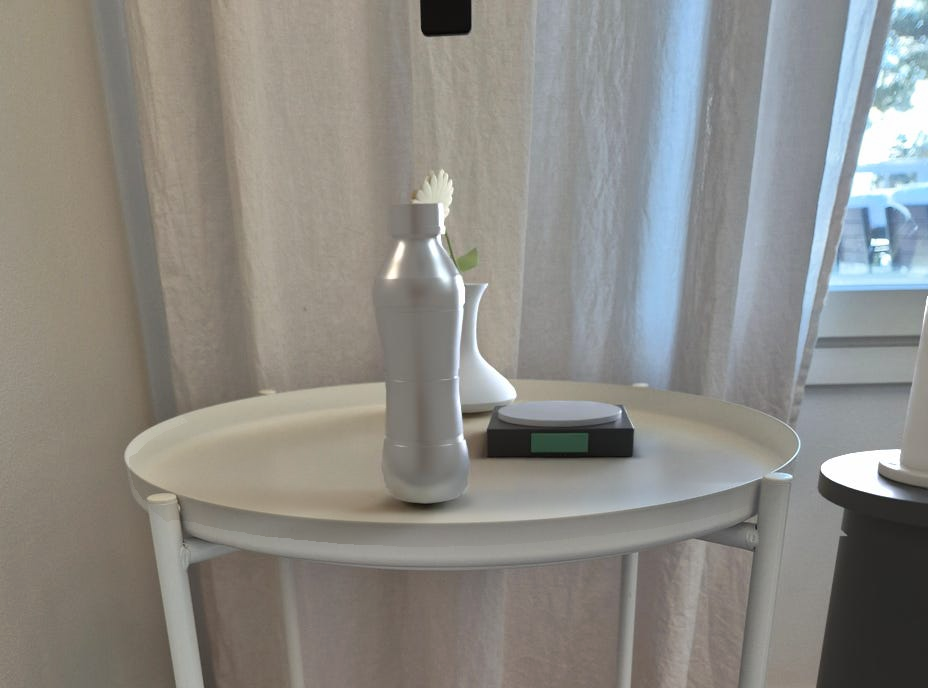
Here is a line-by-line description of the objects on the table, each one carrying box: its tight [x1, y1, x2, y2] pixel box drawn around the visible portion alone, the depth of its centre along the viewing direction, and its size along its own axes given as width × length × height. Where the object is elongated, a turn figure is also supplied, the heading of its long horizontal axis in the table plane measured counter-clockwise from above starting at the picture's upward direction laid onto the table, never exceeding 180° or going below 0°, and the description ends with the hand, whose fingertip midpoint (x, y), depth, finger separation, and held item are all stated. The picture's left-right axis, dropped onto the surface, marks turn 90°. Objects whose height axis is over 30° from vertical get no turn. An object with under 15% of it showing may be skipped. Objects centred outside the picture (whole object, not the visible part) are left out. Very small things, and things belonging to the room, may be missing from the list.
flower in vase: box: [409, 168, 518, 414], centre depth 98 cm, size 13×11×25 cm
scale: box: [486, 399, 635, 458], centre depth 85 cm, size 13×14×3 cm
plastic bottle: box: [371, 203, 471, 505], centre depth 63 cm, size 6×7×20 cm
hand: (438, 16), depth 52 cm, fingers open, 9 cm apart
